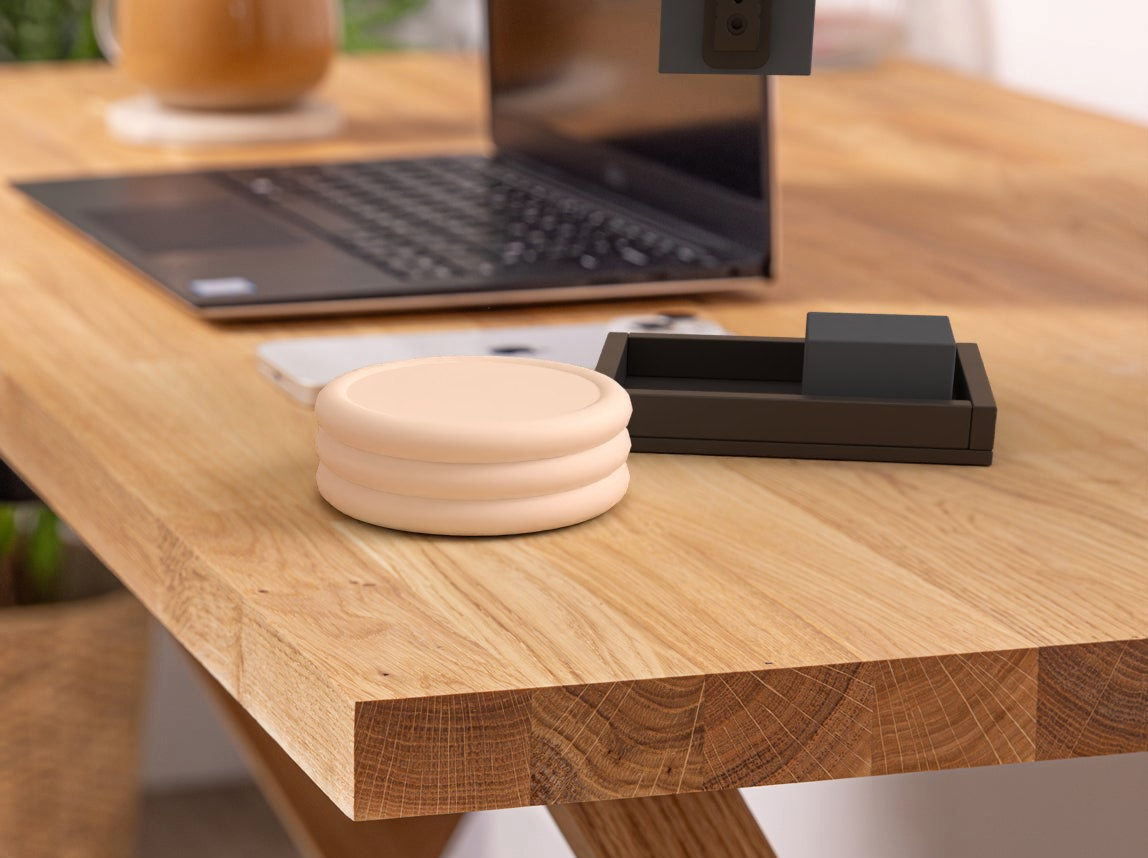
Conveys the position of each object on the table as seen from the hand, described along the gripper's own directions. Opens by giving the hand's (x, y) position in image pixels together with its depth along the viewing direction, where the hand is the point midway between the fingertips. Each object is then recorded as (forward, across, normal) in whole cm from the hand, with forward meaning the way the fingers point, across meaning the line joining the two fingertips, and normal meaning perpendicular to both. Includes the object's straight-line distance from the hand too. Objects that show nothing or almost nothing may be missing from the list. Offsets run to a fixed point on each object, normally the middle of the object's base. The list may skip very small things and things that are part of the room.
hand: (737, 56), depth 76 cm
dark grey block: (0, 0, 0) cm, 0 cm away
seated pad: (+12, 0, -5) cm, 14 cm away
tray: (+12, 0, -2) cm, 13 cm away
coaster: (+13, -11, +7) cm, 18 cm away
